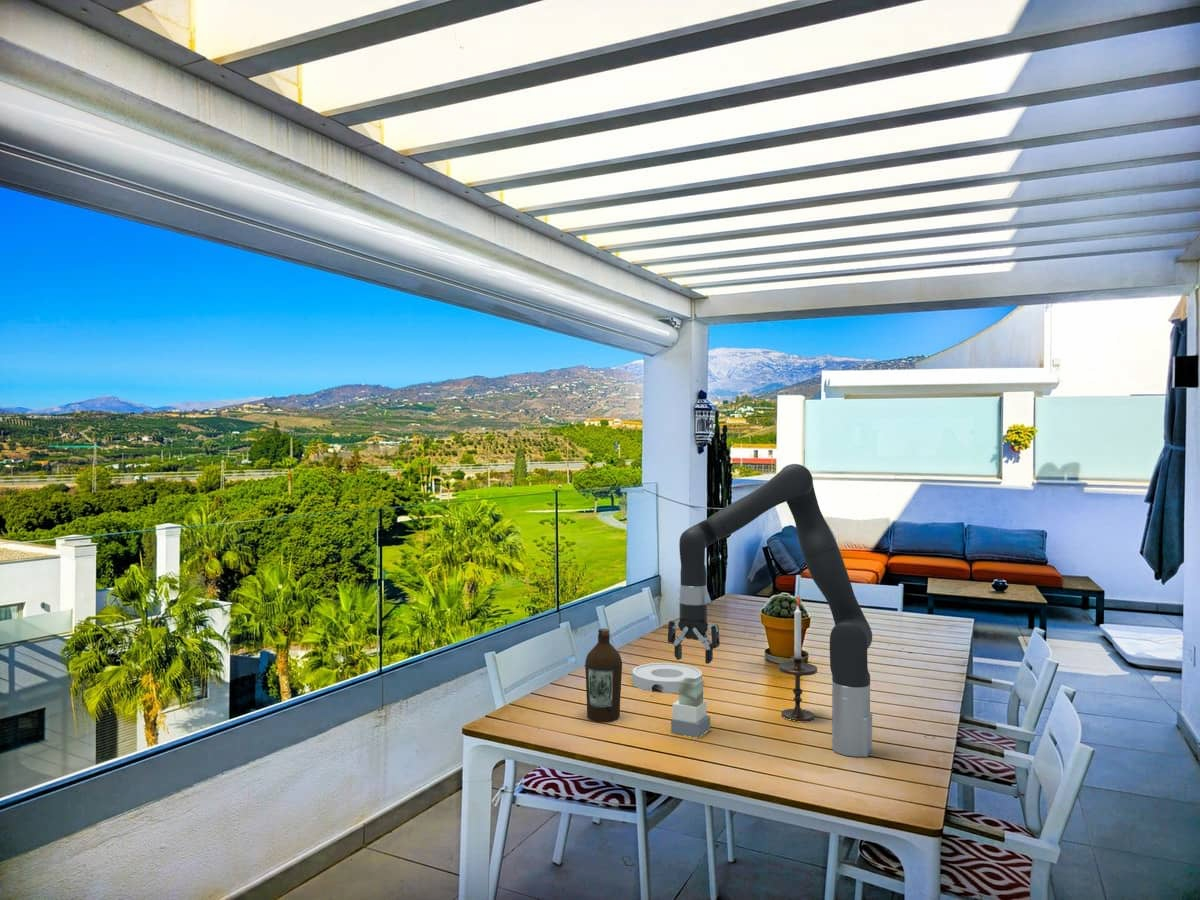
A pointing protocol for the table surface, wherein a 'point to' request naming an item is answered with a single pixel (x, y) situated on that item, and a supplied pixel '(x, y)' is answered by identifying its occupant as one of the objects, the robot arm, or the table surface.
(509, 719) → the table surface
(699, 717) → the cream top block
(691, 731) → the slate base block
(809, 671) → the candlestick
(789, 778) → the table surface
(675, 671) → the ashtray
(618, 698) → the olive oil
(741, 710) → the table surface
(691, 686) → the sage block
